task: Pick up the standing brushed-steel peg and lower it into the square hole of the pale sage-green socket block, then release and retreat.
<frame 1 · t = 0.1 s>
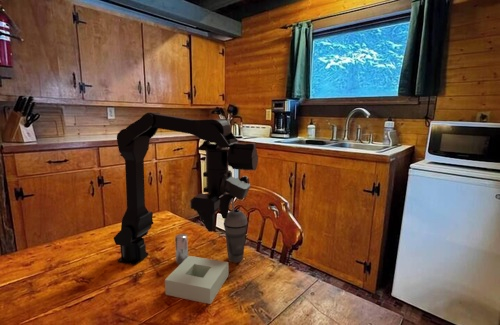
hand: (217, 224, 74), 15 cm above the table, fingers open, 9 cm apart
socket block: (198, 284, 72), on the table
peg: (182, 261, 83), on the table
beverage cup: (235, 259, 85), on the table
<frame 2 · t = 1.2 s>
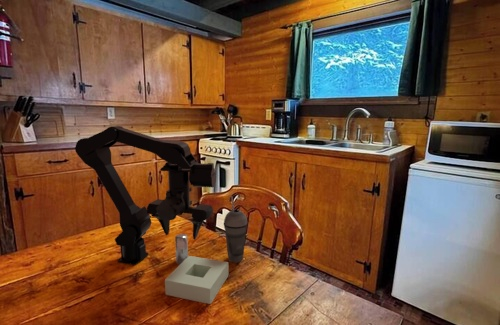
hand: (180, 236, 82), 8 cm above the table, fingers open, 9 cm apart
nothing on the table moved.
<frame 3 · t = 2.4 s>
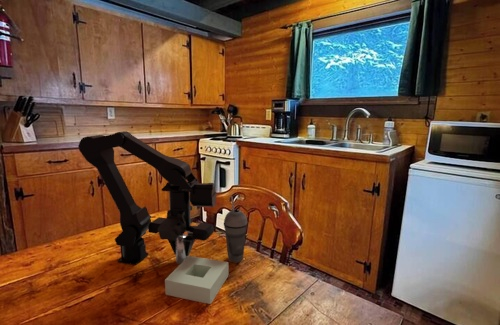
hand: (181, 254, 83), 2 cm above the table, fingers closed on peg, 3 cm apart
peg: (182, 261, 83), on the table, touching gripper
everything else where it was.
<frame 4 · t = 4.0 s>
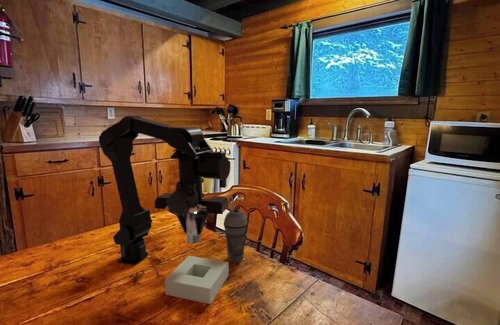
hand: (193, 233, 73), 12 cm above the table, fingers closed on peg, 3 cm apart
peg: (193, 240, 74), point 10 cm above the table, touching gripper
everything else where it was.
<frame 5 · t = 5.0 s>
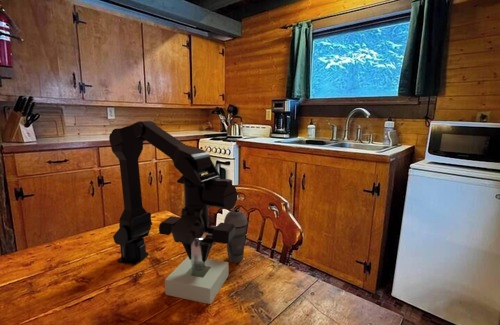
hand: (197, 260, 71), 7 cm above the table, fingers closed on peg, 3 cm apart
peg: (198, 267, 71), point 5 cm above the table, touching gripper
everything else where it was.
when the fingers open (4 cm above the table, at t = 5.7 s): peg drops 2 cm, resting on socket block.
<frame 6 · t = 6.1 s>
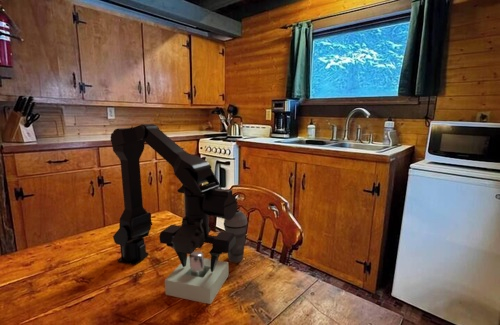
hand: (198, 268, 71), 4 cm above the table, fingers open, 8 cm apart
peg: (198, 282, 72), resting on socket block
everything else where it was.
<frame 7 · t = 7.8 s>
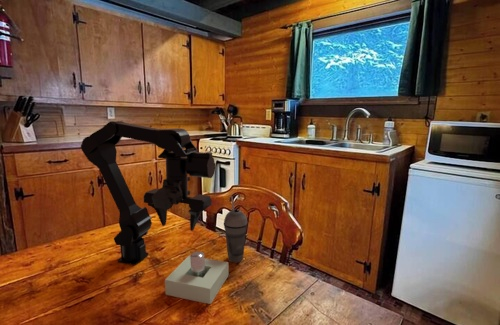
hand: (177, 227, 79), 12 cm above the table, fingers open, 9 cm apart
nothing on the table moved.
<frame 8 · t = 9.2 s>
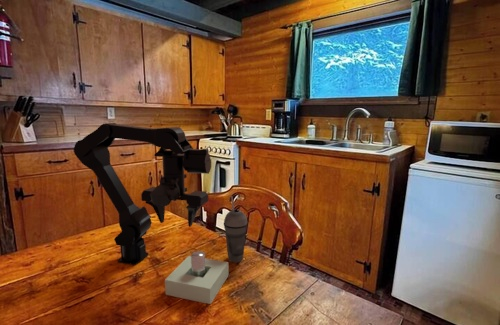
hand: (175, 224, 80), 12 cm above the table, fingers open, 9 cm apart
nothing on the table moved.
at the end: peg 0.1 cm off-centre on the socket block, point 0.4 cm above the socket block's base; peg tilted 2°; the gripper is holding nothing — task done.
